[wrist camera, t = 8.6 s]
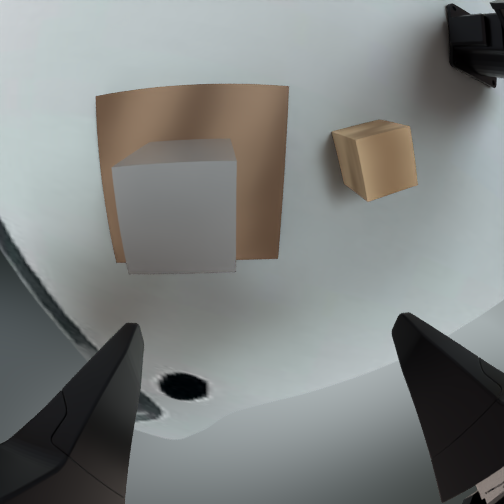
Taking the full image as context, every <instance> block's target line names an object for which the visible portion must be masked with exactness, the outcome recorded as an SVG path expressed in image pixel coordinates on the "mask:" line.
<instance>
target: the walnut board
mask: <svg viewBox="0 0 504 504" xmlns="http://www.w3.org/2000/svg"><path fill="white" fill-rule="evenodd" d="M288 96H289V86H277V85H259V84H197V85H179V86H166V87H155V88H146V89H138V90H130V91H124V92H117V93H111V94H105V95H100V96H96V117H97V134H98V147H99V158H100V168H101V176H102V184H103V192H104V199H105V205H106V211H107V217H108V223H109V229H110V234H111V239H112V244H113V249H114V254H115V258H116V263H126V259H125V254H124V249H123V244H122V238H121V233H120V227H119V221H118V214H117V208H116V201H115V193H114V185H113V177H112V167H113V166H114V165H116V164H117V163H119V162H120V161H122V160H123V159H125V158H126V157H127V156H129V155H130V154H132V153H133V152H135V151H137V150H138V149H140V148H141V147H143V146H144V145H146V144H147V143H149V142H157V141H171V140H190V139H231V142H232V146H233V149H234V153H235V156H236V160H237V177H236V260H249V259H278V252H279V240H280V227H281V213H282V200H283V185H284V170H285V153H286V136H287V117H288Z"/></svg>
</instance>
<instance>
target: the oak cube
mask: <svg viewBox="0 0 504 504" xmlns="http://www.w3.org/2000/svg"><path fill="white" fill-rule="evenodd" d="M331 133H332V136H333V140H334V144H335V148H336V152H337V156H338V160H339V164H340V168H341V173H342V177H343V182H344V184H345V185H346V186H348V187H349V188H350V189H352V190H353V191H354V192H356V193H357V194H358V195H359V196H361V197H362V198H363V199H365V200H366V201H367V202H369V201H372V200H375V199H378V198H381V197H384V196H387V195H389V194H392V193H395V192H398V191H401V190H404V189H407V188H410V187H413V186H416V185H418V183H417V173H416V164H415V157H414V150H413V143H412V137H411V131H410V126H406V125H402V124H398V123H393V122H389V121H384V120H375V121H371V122H367V123H363V124H359V125H355V126H351V127H347V128H343V129H340V130H336V131H332V132H331Z"/></svg>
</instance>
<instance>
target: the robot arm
mask: <svg viewBox="0 0 504 504" xmlns="http://www.w3.org/2000/svg"><path fill="white" fill-rule="evenodd" d="M490 4H491V6H492V8H493V9H494V10H495V12H496V13H489V14H469V13H468V12H466V11H465V10H463V9H461V8H460V7H458V6H456V5H455V4H448V5H447V10H448V22H449V44H450V64H451V66H452V67H453V68H455V69H457V70H459V71H461V72H463V73H465V74H467V75H469V76H471V77H473V78H475V79H477V80H479V81H481V82H482V83H484V84H486V85H488V86H490V87H493V88H495V87H496V82H497V78H504V0H496V1H493V2H490ZM452 8H453V9H452ZM455 63H456V64H455ZM392 337H393V341H394V344H395V348H396V351H397V355H398V359H399V362H400V365H401V369H402V372H403V375H404V377H405V380H406V383H407V386H408V388H409V391H410V394H411V397H412V400H413V403H414V405H415V408H416V411H417V414H418V417H419V420H420V423H421V427H422V430H423V433H424V436H425V440H426V443H427V447H428V450H429V453H430V457H431V461H432V464H433V469H434V472H435V476H436V481H437V485H438V489H439V493H440V498H441V501H442V503H443V502H445V501H447V500H449V499H451V498H453V497H455V496H457V495H459V494H461V493H462V492H464V491H466V490H468V489H470V488H471V487H473V486H475V485H476V486H477V489H478V490H477V491H476V492H475V493H473V494H472V495H470V496H469V497H467V498H466V499H464V501H463V503H462V504H504V373H503V372H501V371H500V370H498V369H496V368H495V367H493V366H492V365H490V364H488V363H487V362H485V361H484V360H483V359H481V358H478V356H476V355H475V354H473V353H472V352H470V351H469V350H467V349H466V348H464V347H463V346H461V345H460V344H458V343H457V342H455V341H453V340H452V339H450V338H449V337H448V336H446V335H444V334H443V333H441V332H440V331H438V330H437V329H435V328H434V327H432V326H430V325H429V324H427V323H426V322H424V321H423V320H421V319H419V318H418V317H416V316H415V315H413V314H411V313H409V312H407V313H401V314H399V316H398V318H397V320H396V322H395V324H394V327H393V329H392ZM143 352H144V341H143V337H142V334H141V330H140V326H139V324H137V323H126V324H125V325H124V326H123V327H122V328H121V329H120V330H119V331H118V332H117V333H116V334H115V335H114V336H113V337H112V338H111V339H110V340H109V341H108V342H107V343H106V344H105V345H104V346H103V347H102V348H101V349H100V350H99V351H98V352H97V353H96V354H95V355H94V356H93V357H92V358H91V359H90V360H89V361H88V362H87V363H86V364H85V365H84V366H83V368H82V369H81V370H80V371H79V372H78V373H77V374H76V375H75V376H74V377H73V378H72V379H71V380H70V381H69V382H68V383H67V384H66V386H65V387H64V388H63V389H62V391H60V392H59V393H58V394H57V395H56V396H55V397H54V398H53V399H52V400H51V401H50V402H49V403H48V405H46V406H45V407H44V408H43V409H42V410H41V411H40V412H39V413H38V414H37V415H36V416H35V417H34V418H33V419H31V420H30V421H29V422H28V423H27V424H26V425H25V426H23V428H21V429H20V430H19V431H18V432H17V433H16V434H14V436H12V437H11V438H10V439H9V440H7V441H5V442H3V443H1V444H0V504H125V493H126V483H127V474H128V466H129V458H130V450H131V443H132V436H133V430H134V424H135V418H136V412H137V406H138V400H139V395H140V389H141V377H142V364H143Z"/></svg>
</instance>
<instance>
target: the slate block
mask: <svg viewBox="0 0 504 504" xmlns="http://www.w3.org/2000/svg"><path fill="white" fill-rule="evenodd" d="M112 177H113V185H114V193H115V201H116V208H117V214H118V221H119V227H120V233H121V238H122V244H123V249H124V254H125V259H126V264H127V269H128V273H129V274H174V273H217V272H236V177H237V160H236V156H235V153H234V149H233V146H232V142H231V139H190V140H171V141H157V142H149V143H147V144H146V145H144V146H143V147H141V148H140V149H138V150H137V151H135V152H133V153H132V154H130V155H129V156H127V157H126V158H125V159H123V160H122V161H120V162H119V163H117V164H116V165H114V166H113V167H112Z"/></svg>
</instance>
